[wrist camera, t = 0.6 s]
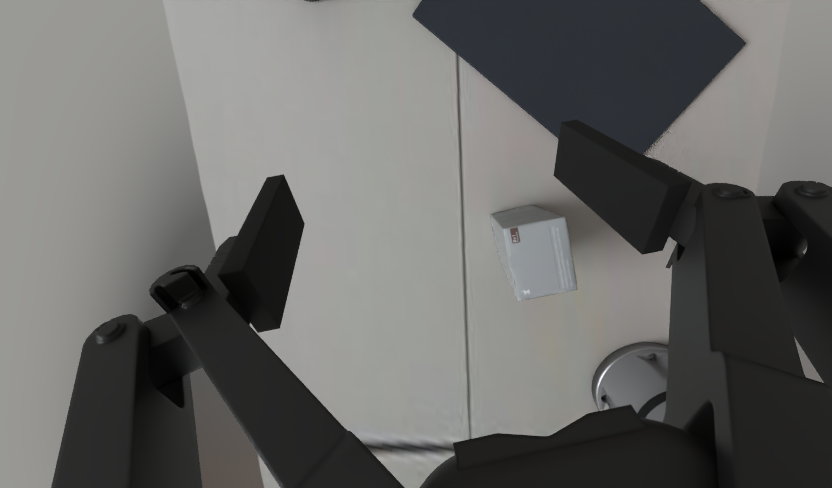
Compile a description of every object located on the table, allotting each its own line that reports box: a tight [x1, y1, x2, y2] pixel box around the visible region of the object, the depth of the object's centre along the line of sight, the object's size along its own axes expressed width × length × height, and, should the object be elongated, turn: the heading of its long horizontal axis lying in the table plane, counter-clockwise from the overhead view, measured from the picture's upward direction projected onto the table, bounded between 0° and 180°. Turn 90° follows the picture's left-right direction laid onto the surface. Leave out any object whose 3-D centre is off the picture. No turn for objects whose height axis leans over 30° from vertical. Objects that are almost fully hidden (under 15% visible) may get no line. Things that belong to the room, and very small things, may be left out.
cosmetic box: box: [491, 205, 577, 301], centre depth 41 cm, size 8×7×16 cm
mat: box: [413, 0, 746, 154], centre depth 42 cm, size 36×22×1 cm, turn 52°
